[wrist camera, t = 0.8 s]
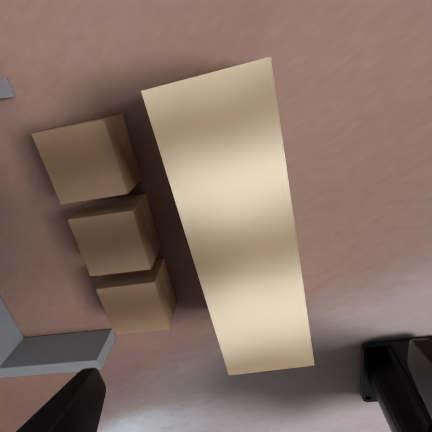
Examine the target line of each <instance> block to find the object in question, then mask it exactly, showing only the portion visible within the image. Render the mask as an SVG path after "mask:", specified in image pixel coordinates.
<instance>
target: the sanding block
mask: <svg viewBox="0 0 432 432" xmlns="http://www.w3.org/2000/svg"><path fill="white" fill-rule="evenodd" d="M141 93H142V96H143V99H144V102H145V106H146V109H147V112H148V115H149V119H150V122H151V125H152V128H153V132H154V135H155V138H156V141H157V144H158V148H159V151H160V154H161V157H162V161H163V164H164V167H165V170H166V174H167V177H168V180H169V183H170V186H171V190H172V193H173V196H174V199H175V203H176V206H177V209H178V212H179V216H180V219H181V222H182V225H183V228H184V232H185V235H186V238H187V241H188V245H189V248H190V251H191V254H192V258H193V261H194V264H195V267H196V270H197V274H198V277H199V280H200V283H201V287H202V290H203V293H204V296H205V300H206V303H207V306H208V309H209V312H210V316H211V319H212V322H213V325H214V329H215V332H216V335H217V338H218V342H219V345H220V348H221V351H222V354H223V358H224V361H225V364H226V367H227V371H228V374H229V375H237V374H246V373H255V372H263V371H272V370H280V369H289V368H298V367H306V366H315V365H314V358H313V350H312V343H311V336H310V329H309V322H308V315H307V308H306V301H305V294H304V287H303V280H302V273H301V266H300V259H299V252H298V245H297V238H296V231H295V224H294V217H293V210H292V203H291V196H290V189H289V182H288V175H287V168H286V161H285V154H284V147H283V140H282V133H281V126H280V119H279V112H278V105H277V98H276V91H275V84H274V77H273V70H272V63H271V57H268V58H264V59H260V60H256V61H253V62H249V63H245V64H241V65H238V66H234V67H230V68H226V69H222V70H219V71H215V72H211V73H207V74H203V75H200V76H196V77H192V78H188V79H185V80H181V81H177V82H173V83H169V84H166V85H162V86H158V87H154V88H151V89H147V90H143V91H141Z"/></svg>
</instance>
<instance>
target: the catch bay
mask: <svg viewBox="0 0 432 432" xmlns="http://www.w3.org/2000/svg"><path fill="white" fill-rule="evenodd" d="M13 97H15V95H14V93H13V90H12V88H11V85H10V83H9V81H8V78H0V100H4V99H8V98H13ZM114 341H115V335H114V333H113V330H112V329H107V330H97V331H87V332H77V333H67V334H57V335H47V336H37V337H26V338H24V337H23V335H22V334H21V332H20V330H19V328H18V327H17V325H16V323H15V322H14V320H13V318H12V316H11V315H10V313H9V311H8V310H7V308H6V306H5V304H4V303H3V301H2V299H1V298H0V378H5V377H18V376H30V375H42V374H54V373H66V372H79V371H81V370H82V369H85V368H97V369H98V370H101V369H102V367H103V364H104V362H105V360H106V358H107V356H108V354H109V351H110V349H111V347H112V345H113V343H114Z"/></svg>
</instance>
